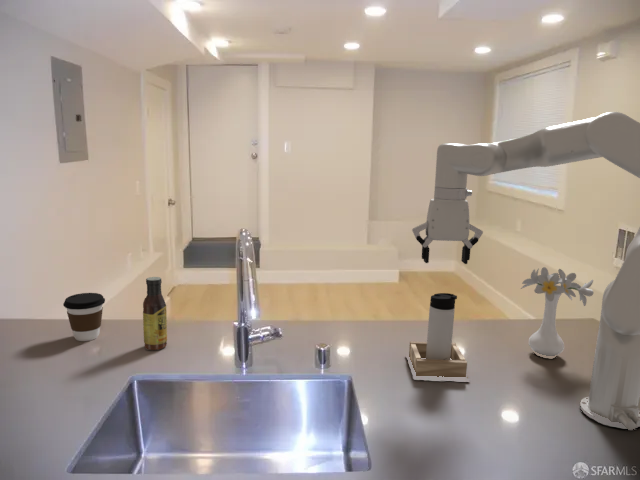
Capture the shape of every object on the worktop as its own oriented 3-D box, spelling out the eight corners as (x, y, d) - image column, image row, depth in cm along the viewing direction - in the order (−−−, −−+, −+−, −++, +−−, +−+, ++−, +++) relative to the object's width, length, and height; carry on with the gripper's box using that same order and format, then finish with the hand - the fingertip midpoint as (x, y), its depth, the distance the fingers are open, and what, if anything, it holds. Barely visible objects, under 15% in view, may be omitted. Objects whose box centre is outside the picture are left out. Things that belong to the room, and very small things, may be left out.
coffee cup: (57, 341, 144) (53, 301, 141) (85, 328, 154) (82, 290, 152) (89, 346, 141) (86, 306, 138) (115, 332, 151) (113, 294, 149)
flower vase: (590, 365, 138) (603, 277, 133) (523, 363, 138) (534, 275, 133) (567, 345, 151) (578, 264, 146) (506, 344, 151) (514, 263, 146)
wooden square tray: (469, 382, 126) (471, 364, 125) (413, 380, 126) (414, 362, 125) (456, 358, 140) (457, 341, 139) (405, 356, 140) (406, 340, 139)
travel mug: (444, 374, 128) (451, 299, 124) (421, 366, 132) (426, 293, 128) (454, 366, 133) (461, 293, 129) (431, 359, 137) (437, 288, 133)
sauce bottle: (163, 351, 139) (160, 282, 135) (140, 351, 139) (137, 281, 135) (170, 342, 145) (168, 275, 141) (149, 341, 146) (146, 275, 142)
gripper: (480, 193, 127) (475, 259, 131) (412, 192, 128) (408, 258, 131) (490, 197, 120) (484, 267, 123) (417, 195, 120) (413, 265, 124)
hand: (445, 262), depth 127 cm, fingers open, 9 cm apart
